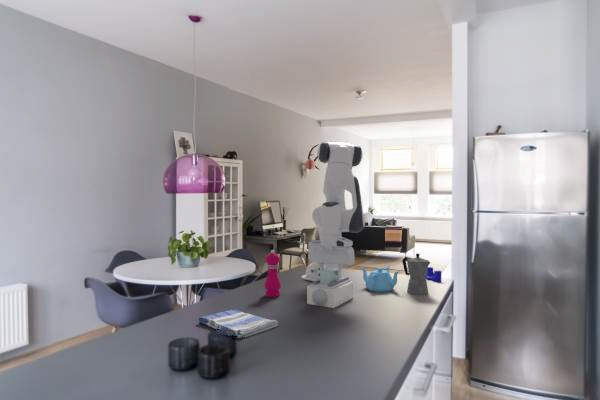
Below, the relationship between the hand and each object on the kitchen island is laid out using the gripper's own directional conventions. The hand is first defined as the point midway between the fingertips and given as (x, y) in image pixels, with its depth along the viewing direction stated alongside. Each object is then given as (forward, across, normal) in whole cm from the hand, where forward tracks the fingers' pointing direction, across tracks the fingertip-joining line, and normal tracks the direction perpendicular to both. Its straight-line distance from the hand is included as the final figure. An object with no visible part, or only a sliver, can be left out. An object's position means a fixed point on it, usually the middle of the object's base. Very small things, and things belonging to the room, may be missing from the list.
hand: (330, 274), depth 169 cm
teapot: (+11, +10, +31) cm, 35 cm away
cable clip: (+12, +25, +65) cm, 71 cm away
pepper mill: (+11, -26, -5) cm, 29 cm away
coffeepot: (+11, +26, +32) cm, 43 cm away
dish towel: (+12, -13, -44) cm, 47 cm away
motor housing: (+11, 0, 0) cm, 11 cm away
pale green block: (+3, 0, -1) cm, 3 cm away
